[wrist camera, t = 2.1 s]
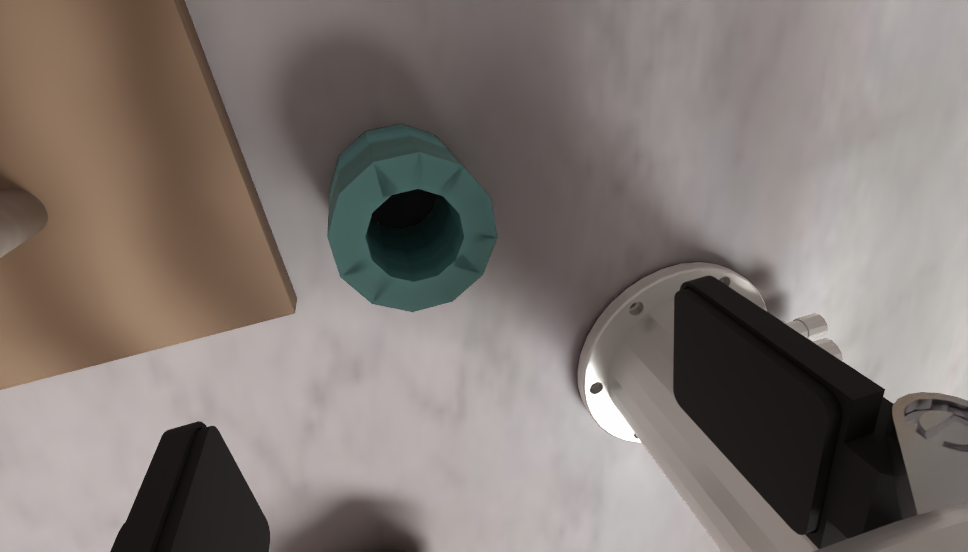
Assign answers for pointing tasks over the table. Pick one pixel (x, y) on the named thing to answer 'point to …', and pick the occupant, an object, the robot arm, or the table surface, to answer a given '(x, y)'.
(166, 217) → the spindle stand
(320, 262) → the table surface
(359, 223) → the bead
